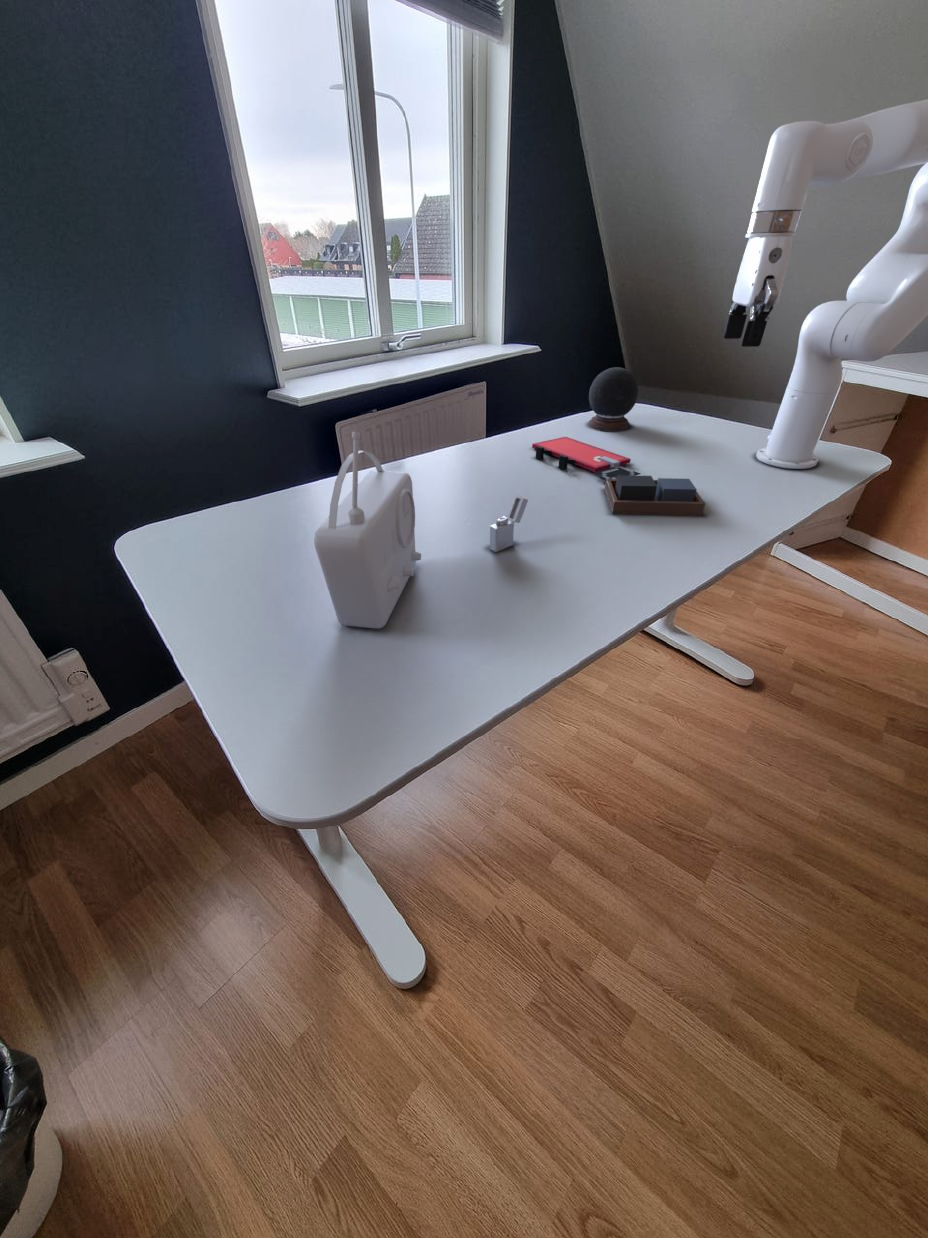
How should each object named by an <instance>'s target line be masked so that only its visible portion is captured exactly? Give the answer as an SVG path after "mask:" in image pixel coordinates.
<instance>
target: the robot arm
mask: <svg viewBox="0 0 928 1238" xmlns="http://www.w3.org/2000/svg"><path fill="white" fill-rule="evenodd" d="M920 165H922V167H921V168H920V169H919V170H918V171H917V173H916V174H915V176H914V177H913V180H912V181H911V183H910V187H909V190H908V194H907V197H906V201H905V206H904V210H903V214H902V218H901V221H900V224H899V227H898V229H897V230H896V233H895V234H894V235H893V236H892V237H891V238H890V240H888V242H887V243H885V245H884V246H883V247H882V248H881V249H880V250H879V251H878V252H877V253H876V254H875V255H874V256H873V258H872V259H870V260H869V261H868V262H867V263H866V265H865V266H864V267H863V268H861V270H860V271H859V272H858V273H857V274H856V275H855V277H854V278H853V279H852V281H851V282H850V284H849V285H848V288H847V291H846V295H845V298H846V300H832V301H826V302H823V303H821V304H819V305H817V306H816V307H814V308H813V309H812V310H811V311H809V313H808V314H807V315H806V317H805V319H804V320H803V322H802V325H801V327H800V330H799V337H798V344H797V350H796V354H795V355H796V356H795V360H794V364H793V367H792V370H791V373H790V376H789V380H788V382H787V385H786V388H785V392H784V394H783V397H782V399H781V400H782V401H781V403H780V406H779V409H778V412H777V415H776V417H775V421H774V423H773V427H772V429H771V432H770V434H769V435H767V440H768V441H767V444H766V447H762V448H760V449H758V450H757V451H756V454H755V457H756V459H757V460H758V461H760V463H761V462H762V463H764V464H766V465H769V466H773V467H777V468H782V469H790V470H805V469H810V468H813V467H816V466H817V464H818V462H819V458H818V457H817V455H815V454H813V453H814V451H815V449H816V446H817V445H818V444H817V443H818V442H819V439H820V436H821V434H822V431H823V429H824V426H825V424H826V421H827V419H828V416H829V414H830V411H831V408H832V406H833V404H834V401H835V399H836V397H837V394H838V392H839V389H840V386H841V384H842V381H843V380H842V379H843V363H842V359H845V360H850V361H857V362H867V363H868V362H876V361H879V360H881V359H882V358H884V357H885V356H887V355H888V354H889V353H891V352H892V351H893V350H894V349H895V348H896V347H897V346H898V345H899V344H901V342H903V341H904V339H905V338H906V337H908V336H909V334H911V332H913V331H914V330H915V329H916V328H917V327H918V325H920V324H921V323H922V321H924V320H925V319H926V317H928V98H927V99H923V100H918V101H913V102H909V103H903V104H899V105H895V106H891V107H887V108H883V109H880V110H877V111H874V112H870V113H868V114H865V115H862V116H858V117H855V118H851V119H848V120H844V121H840V122H835V123H823V122H821V121H819V120H802V121H801V120H800V121H794V122H789V123H785V124H783V125H781V126H779V127H777V128H776V129H775V130H774V132H773V133H772V135H771V136H770V139H769V142H768V146H767V150H766V153H765V158H764V162H763V165H762V169H761V174H760V177H759V182H758V185H757V189H756V193H755V197H754V202H753V205H752V208H751V213H750V217H749V221H748V225H747V228H746V234H745V236H744V238H746V239H747V238H748V241H747V243H746V246H745V250H744V253H743V256H742V259H741V262H740V266H739V269H738V273H737V276H736V280H735V284H734V288H733V292H732V299H731V301H730V302H731V306H730V308H729V311H728V317H727V321H726V325H725V329H724V332H723V335H722V336H723V339H726V340H731V339H732V340H733V339H734V340H735V339H736V340H739V339H741V342H740V346H741V347H745V348H746V347H747V348H749V347H752V348H753V347H760V346H761V344H762V340H763V337H764V334H765V330H766V327H767V323H768V321H769V320H770V316H771V315H770V314H771V312H772V311H773V309H774V306H776V305H777V304H778V303H779V301H780V296H781V292H782V289H783V285H784V281H785V279H786V274H787V270H788V266H789V261H790V257H791V253H792V248H793V247H792V246H793V242H794V241H793V239H794V237H795V236H796V233H797V231H798V227H799V224H800V220H801V217H802V214H803V210H804V207H805V204H806V201H807V197H808V195H809V191H810V189H811V188H821V187H830V186H835V185H839V184H843V183H844V182H846V181H849V180H850V179H859V178H868V177H874V176H879V175H885V174H888V173H892V172H893V173H894V172H897V171H900V170H903V169H908V168H912V167H915V166H920ZM748 310H749V320H747V316H748V314H746V313H747V311H748Z"/></svg>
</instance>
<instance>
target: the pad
mask: <svg viewBox="0 0 928 1238" xmlns="http://www.w3.org/2000/svg"><path fill="white" fill-rule="evenodd" d="M657 480H658V481H657V489H656V493H655V497H656V499H657V501H677V502H693V501H694V498H695V494H696V491H697V490H698V489H697V488H696V486H695V485H694V483H693V482H692V481H691V479H690V478H672V477H671V478H670V477H669V478H664V477H662V478H661V477H658V478H657Z"/></svg>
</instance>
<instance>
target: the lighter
mask: <svg viewBox="0 0 928 1238" xmlns="http://www.w3.org/2000/svg"><path fill="white" fill-rule="evenodd" d="M528 502H529V499H528V498H525V497H523V496H521V495H516V496H515V498H514V499H513V504H512V505H511V508H510V510H509V514H508V516H505V515H503V516H501V517H498V518H496V522H495V523H494V524H491V525H490V526H489V550H491V551H493V552H495V553H498V552H500V551H503V550H505V549H507V548H509V547H511V546H513V545H514V529H515V523H517V524H519V523H521V520H522V518H523V516H524V512H525V511H526V507H527V504H528Z"/></svg>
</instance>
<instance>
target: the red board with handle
mask: <svg viewBox="0 0 928 1238" xmlns="http://www.w3.org/2000/svg"><path fill="white" fill-rule="evenodd" d="M531 448H533V449H535V459H537V460H539V461H542V460H545V459H544V457H545V455H547V456H548V455H549V456H553V457H555V458H558V466H557V467H558V468H559V469H561V470H567V469H568V464H569V465H576V466H578V467H581V468H583V469H586V470H588V471H591V472H592V474H594V475H595V476H598V477H602V478H604V479H617V475H632V476H640V475H642V473H641V472H639V471H635V470H632V469H629V468H627V467H624V466H623V465H627V464H631V460H632V459H631V458H629V457H626V456H623V455H620V454H617V453H614V452H612V451H609V450H606V449H603V448H600V447H597V446H594V445H591V444H589V443H585V442H582V441H579V440H577V439H573V438H571V437H568V436H563V437H557V438H554V439H553V438H552V439H549V440H544V441H538V442H535V443H532V445H531Z"/></svg>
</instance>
